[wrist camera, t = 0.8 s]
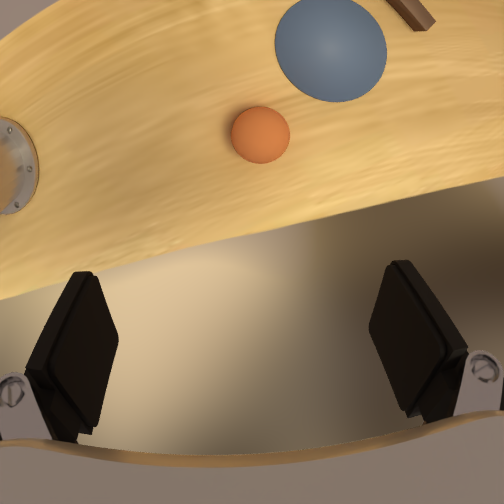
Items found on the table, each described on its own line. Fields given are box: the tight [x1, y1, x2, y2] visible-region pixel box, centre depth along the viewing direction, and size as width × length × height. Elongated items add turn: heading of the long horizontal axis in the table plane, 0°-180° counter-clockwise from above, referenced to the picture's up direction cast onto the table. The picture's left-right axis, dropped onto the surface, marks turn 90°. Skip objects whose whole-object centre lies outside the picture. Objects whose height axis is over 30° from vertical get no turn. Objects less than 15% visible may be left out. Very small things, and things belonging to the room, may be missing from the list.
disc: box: [275, 0, 387, 102], centre depth 27 cm, size 12×12×1 cm
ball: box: [231, 107, 290, 164], centre depth 29 cm, size 6×6×6 cm
